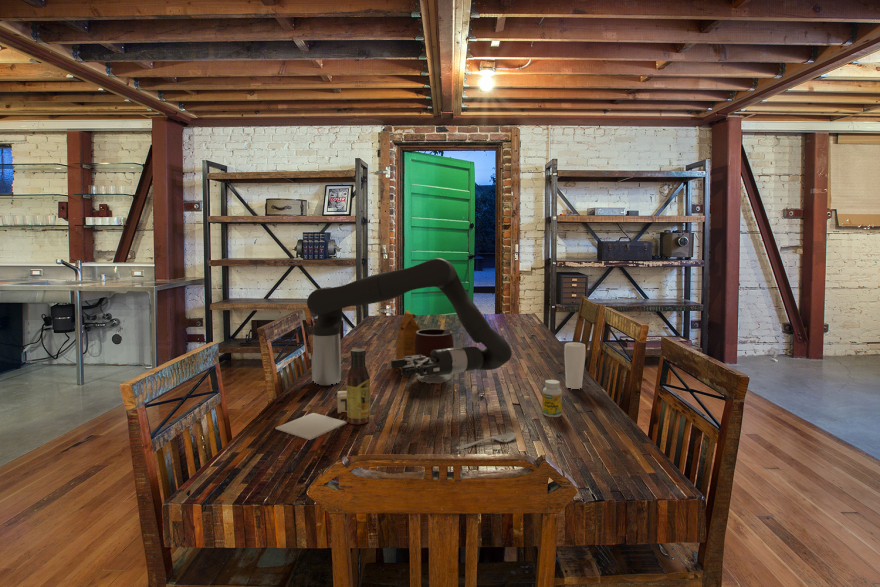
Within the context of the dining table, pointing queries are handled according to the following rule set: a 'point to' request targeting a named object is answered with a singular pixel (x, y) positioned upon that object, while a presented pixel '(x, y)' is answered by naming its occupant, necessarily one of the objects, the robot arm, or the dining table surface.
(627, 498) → the dining table surface
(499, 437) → the spoon
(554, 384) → the supplement bottle
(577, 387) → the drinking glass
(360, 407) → the sauce bottle
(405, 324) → the coffee package
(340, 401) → the letter block
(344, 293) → the robot arm
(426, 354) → the mate gourd
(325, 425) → the beige mat
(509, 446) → the dining table surface
